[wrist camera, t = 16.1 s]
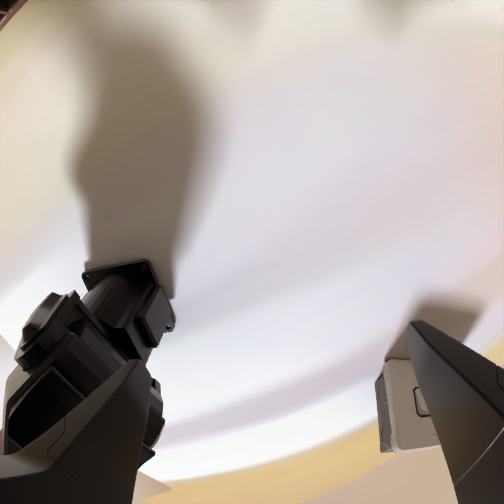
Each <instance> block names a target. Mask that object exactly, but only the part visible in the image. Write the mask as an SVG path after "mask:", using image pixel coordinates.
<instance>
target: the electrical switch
mask: <svg viewBox="0 0 504 504" xmlns="http://www.w3.org/2000/svg"><path fill="white" fill-rule="evenodd" d="M375 391H376V400H377V411H378V422H379V436H380V452H381V453H385V452H394V453H406V452H413V451H420V450H427V449H432V448H438V447H441V444H440V441H439V439H438V436H437V433H436V430H435V427H434V425H433V422H432V419H431V417H430V414H429V412H428V409H427V406H426V404H425V401H424V399H423V396H422V394H421V391H420V389H419V386H418V384H417V380H416V377H415V373H414V370H413V367H412V363H411V360H398V359H390V360H389V361H387V362H386V363H384V365H383V375H382V377H381V378H380V379H379V380H378V381H376V382H375ZM386 402H387V403H386ZM385 403H386V404H385Z"/></svg>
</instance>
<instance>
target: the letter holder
mask: <svg viewBox="0 0 504 504" xmlns="http://www.w3.org/2000/svg"><path fill="white" fill-rule="evenodd" d="M27 1H28V0H0V30H1V29H2V28H3V27H4V26H5V25H6V23H7V22H8V21H9V20H10V19H11V18H12V17H13V15H14V14H15V13H16V12H17V11H18V10H19V9H20V8H21V7H22V6H23V5H24V4H25V3H26V2H27Z"/></svg>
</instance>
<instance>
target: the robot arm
mask: <svg viewBox="0 0 504 504" xmlns="http://www.w3.org/2000/svg"><path fill="white" fill-rule="evenodd" d="M142 265H145V266H146V267H147V268H144V267H143V266H142ZM87 276H88V277H89V278H88V277H87ZM82 279H83V281H84V284H85V286H86V288H87V290H88V293H87V294H86V295H85V296H84V297H83V299H82V300H80V296H79V295H78V293H77V292H76V291H75V290H74V291H72V292H71V293H69V294H68V295H67V294H65V295H64V296H63V295H58V294H56V293H53V292H52V293H51V294H49V295H48V296H47V297H46V298H45V299H44V300H43V302H42V303H41V304H40V305H39V306H38V307H37V308H36V309H35V310H34V312H33V313H32V314H31V316H30V318H29V319H28V321H27V322H26V324H25V326H24V327H23V329H22V338H21V341H20V343H19V346H18V349H17V351H16V354H15V357H14V360H15V361H16V362H17V363H18V364H19V365H18V366H17V367H16V368H15V369H14V371H13V372H12V373H11V374H10V376H9V377H8V379H7V381H6V388H5V397H4V409H3V426H2V429H1V431H0V504H132V499H133V493H134V486H135V481H136V475H137V470H138V469H139V468H140V467H141V466H142V465H143V464H144V463H145V462H147V461H148V460H149V459H151V458H152V457H153V456H154V455H155V451H154V450H152V448H153V447H154V445H155V444H156V443H157V441H158V439H159V437H160V435H161V433H162V430H163V428H164V425H165V419H164V418H163V417H162V413H163V401H162V397H161V390H160V383H159V382H158V381H157V380H156V379H153V378H152V377H151V375H150V373H149V371H148V369H147V368H146V363H147V361H148V359H149V356H150V354H151V351H152V349H153V348H157V346H158V345H159V343H160V340H161V338H162V335H163V333H166V332H172V331H173V330H174V327H175V323H174V321H173V319H172V316H171V313H172V311H171V309H170V306H169V304H168V301H167V299H166V296H165V294H164V291H163V289H162V286H161V285H159V284H158V281H157V278H156V276H155V273H154V270H153V268H152V265H151V263H150V262H149V261H148V260H146V259H142V260H137V261H131V262H126V263H121V264H115V265H110V266H105V267H99V268H94V269H89V270H85V271H84V272H83V273H82ZM167 325H169V326H170V327H168V326H167ZM406 347H407V350H408V353H409V357H410V360H411V363H412V367H413V370H414V373H415V377H416V380H417V384H418V386H419V389H420V391H421V394H422V396H423V399H424V401H425V404H426V406H427V409H428V412H429V414H430V417H431V419H432V422H433V425H434V427H435V430H436V433H437V436H438V439H439V441H440V444H441V447H442V450H443V453H444V456H445V459H446V462H447V465H448V469H449V471H450V475H451V478H452V482H453V485H454V489H455V493H456V496H457V500H458V504H504V369H503V368H501V367H500V366H496V364H495V363H493V362H491V361H490V360H488V359H487V358H485V357H483V356H482V355H480V354H478V353H477V352H475V351H473V350H472V349H470V348H468V347H467V346H465V345H464V344H462V343H460V342H459V341H457V340H455V339H454V338H452V337H450V336H449V335H447V334H445V333H443V332H442V331H440V330H438V329H437V328H435V327H433V326H432V325H430V324H428V323H427V322H425V321H423V320H421V319H418V320H414V321H411V322H409V324H408V329H407V336H406Z"/></svg>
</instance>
